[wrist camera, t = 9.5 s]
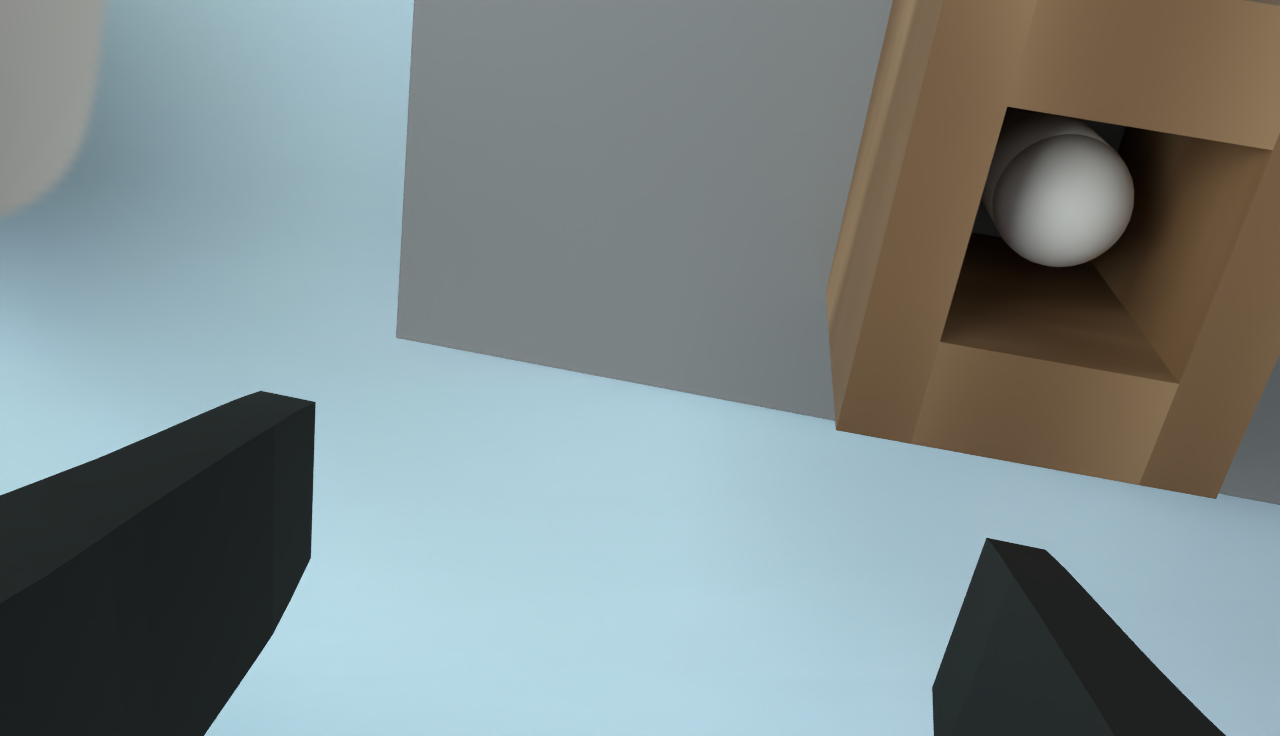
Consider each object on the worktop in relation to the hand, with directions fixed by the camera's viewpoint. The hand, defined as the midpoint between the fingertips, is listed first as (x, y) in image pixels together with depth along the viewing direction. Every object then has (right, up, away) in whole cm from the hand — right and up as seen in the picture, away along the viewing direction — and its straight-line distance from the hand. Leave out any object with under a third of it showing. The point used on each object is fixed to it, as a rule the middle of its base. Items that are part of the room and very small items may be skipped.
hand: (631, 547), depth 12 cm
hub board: (+7, +7, +6) cm, 12 cm away
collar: (+6, +5, +6) cm, 10 cm away
